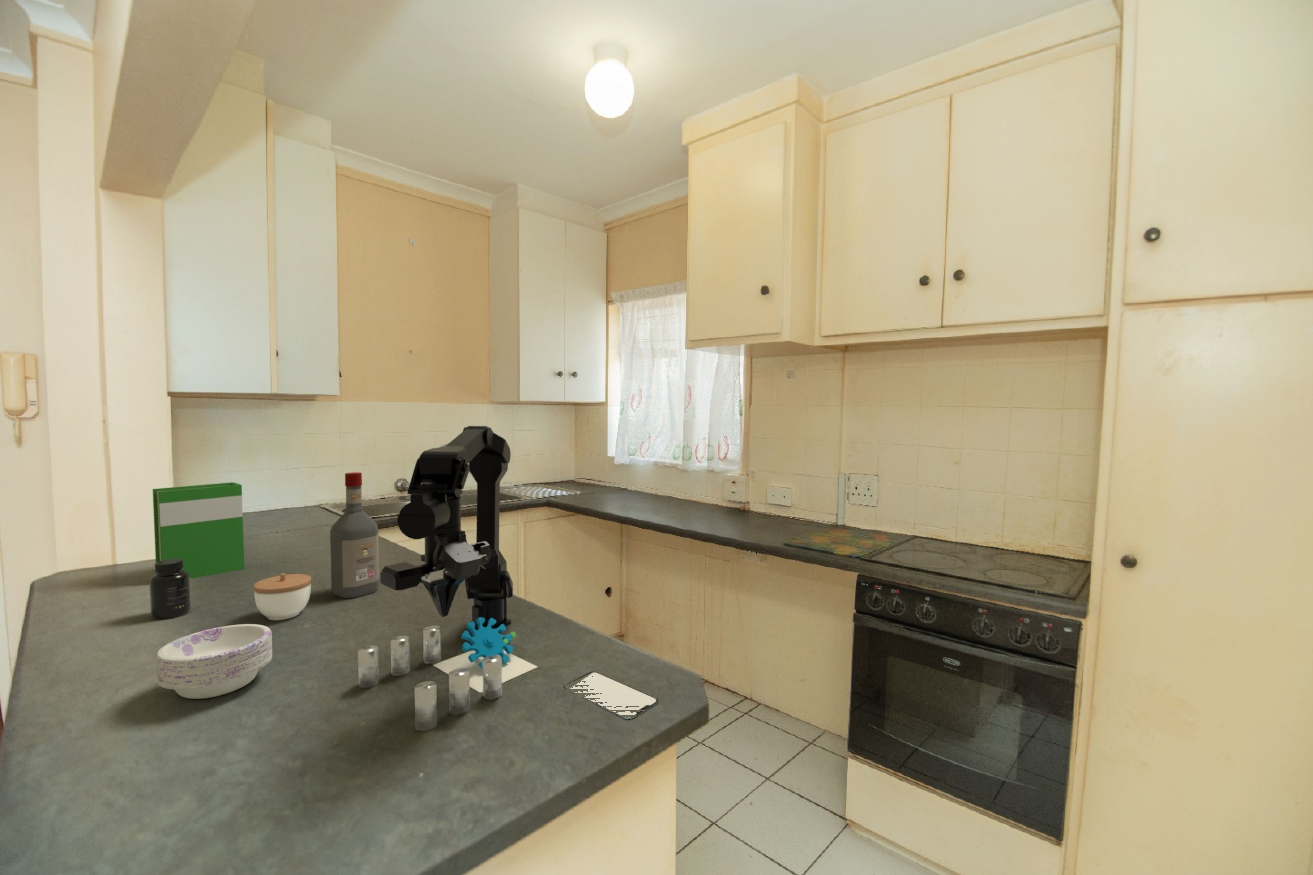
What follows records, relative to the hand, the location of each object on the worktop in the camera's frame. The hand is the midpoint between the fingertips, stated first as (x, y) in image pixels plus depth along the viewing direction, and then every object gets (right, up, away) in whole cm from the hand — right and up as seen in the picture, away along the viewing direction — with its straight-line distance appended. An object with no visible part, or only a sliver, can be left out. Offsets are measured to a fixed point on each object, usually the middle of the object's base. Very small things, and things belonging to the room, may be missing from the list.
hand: (443, 616), depth 95 cm
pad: (+5, -11, +7) cm, 14 cm away
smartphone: (+28, -13, -2) cm, 31 cm away
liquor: (-39, -9, +46) cm, 61 cm away
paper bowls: (-38, -12, -1) cm, 39 cm away
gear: (+5, -11, +9) cm, 15 cm away
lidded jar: (-47, -10, +30) cm, 57 cm away
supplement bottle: (-72, -9, +30) cm, 78 cm away
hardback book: (-89, -7, +59) cm, 107 cm away
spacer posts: (-2, -12, -2) cm, 12 cm away
